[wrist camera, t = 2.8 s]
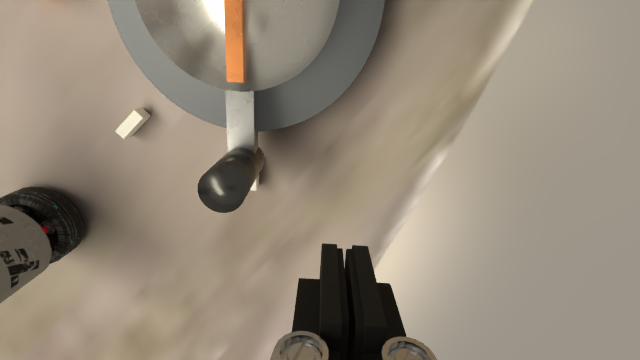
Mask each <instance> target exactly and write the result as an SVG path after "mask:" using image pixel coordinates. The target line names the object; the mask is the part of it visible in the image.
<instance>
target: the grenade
mask: <svg viewBox="0 0 640 360" xmlns="http://www.w3.org/2000/svg"><path fill="white" fill-rule="evenodd" d="M82 237H83V224H82V220H81V217H80V215H79V213H78V212H77V210H76V209H75V207H74V206H73V205H72V204H71V203H70V202H69V201H68V200H67V199H66V198H64V197H63V196H61V195H60V194H58V193H56V192H54V191H51V190H49V189H45V188H41V187H27V188H23V189H20V190H18V191H15V192H12V193H10V194H8V195H6V196H3V197H1V198H0V303H1V302H3V301H4V300H5V299H7V298H8V297H9V296H11V295H12V294H13V293H15V292H16V291H17V290H19V289H20V288H21V287H23V286H24V285H26V284H27V283H28V282H30V281H31V280H32V279H34V278H35V277H36V276H38V275H39V274H40V273H42V272H43V271H44V270H45V269H46V268H47V267H48V265H49V264H51V263H53V262H56V261H58V260H60V259H61V258H62V257H64V256H65V255H67V254H68V253H69V252H71V251H72V250H73V249H74V248H76V247H77V246H78V244H79V243H80V242H81V239H82Z"/></svg>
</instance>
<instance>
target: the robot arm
mask: <svg viewBox="0 0 640 360" xmlns="http://www.w3.org/2000/svg"><path fill="white" fill-rule="evenodd" d="M270 360H437V359H436V357H435V355H434V354H433V353H432V351H431V350H430V349H429V348H428V347H427V346H425V345H424V344H423V343H421V342H419V341H417V340H416V339H412V338H409V337H406V333H405V330H404V327H403V324H402V320H401V317H400V314H399V311H398V307H397V305H396V301H395V298H394V294H393V291H392V288H391V286H390V284H388V283H377V282H376V278H375V274H374V270H373V266H372V262H371V258H370V254H369V250H368V246H355V245H353V246H352V249H347V250H346V258H345V269H344V261H343V250H342V249H339V248H337V244H322V251H321V266H320V279H303V278H299V282H298V289H297V297H296V305H295V313H294V320H293V328H292V332H291V333H289V334H287V335H284V336H283V337H282V338H281V339H280V340H279V341H278V342H277V344H276V346H275V348H274V351H273V353H272V356H271V359H270Z"/></svg>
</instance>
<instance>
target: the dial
mask: <svg viewBox="0 0 640 360" xmlns="http://www.w3.org/2000/svg"><path fill="white" fill-rule="evenodd" d="M135 2H136V5H137V8H138V11H139V13H140V15H141V18H142V20H143V22H144V24H145V26H146V28H147V30H148V31H149V33H150V35H151V36H152V38H153V39H154V41H155V42H156V44H157V45H158V46H159V48H160V49H161V50H162V51H163V52H164V53H165V55H166V56H167V57H168V58H169V59H170V60H171V61H172V62H174V63H175V64H176V65H177V66H178V67H179V68H180V69H182V70H183V71H185V72H186V73H187V74H189V75H190V76H192V77H194V78H196V79H197V80H199V81H201V82H203V83H206V84H208V85H211V86H213V87H217V88H220V89H224V90H225V95H226V120H227V144H228V153H227V154H225V155H224V156H223V157H222V158H221V159H220V160H219V161H218V162H217V163H216V164H215V165H214V166H212V167H211V168H210V169H209V170H208V171H207V172H206V173H205V174H204V175H203V176H202V177H201V179H200V180H199V183H198V194H199V197H200V199H201V201H202V202H203V203H204V204H205V205H206V206H207V207H208V208H210V209H211V210H213V211H216V212H221V213H227V212H231V211H234V210H236V209H237V208H238V207H239V206H240V205H241V204H242V203H243V201H244V199H245V197H246V196H247V194H248V192H249V190H250V189H251V187H252V185H253V184H254V182H255V180H256V178H257V177H258V175H259V173H260V171H261V170H262V168H263V166H264V162H265V158H264V154H263V152H262V150H261V149H260V148H259V147H258V90H264V89H267V88H271V87H274V86H277V85H279V84H281V83H283V82H286V81H288V80H290V79H292V78H293V77H295V76H296V75H298V74H300V73H301V72H302V71H303V70H304V69H306V68H307V67H308V66H309V65H310V64H311V63H312V62H313V61H314V59H315V58H316V57H317V56H318V54H319V53H320V51H321V50H322V49H323V47H324V45H325V43H326V42H327V40H328V38H329V36H330V33H331V30H332V28H333V25H334V22H335V19H336V15H337V11H338V6H339V0H135Z"/></svg>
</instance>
